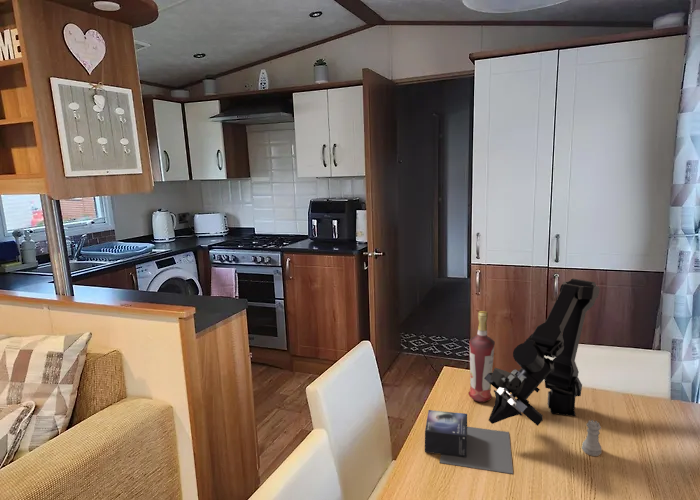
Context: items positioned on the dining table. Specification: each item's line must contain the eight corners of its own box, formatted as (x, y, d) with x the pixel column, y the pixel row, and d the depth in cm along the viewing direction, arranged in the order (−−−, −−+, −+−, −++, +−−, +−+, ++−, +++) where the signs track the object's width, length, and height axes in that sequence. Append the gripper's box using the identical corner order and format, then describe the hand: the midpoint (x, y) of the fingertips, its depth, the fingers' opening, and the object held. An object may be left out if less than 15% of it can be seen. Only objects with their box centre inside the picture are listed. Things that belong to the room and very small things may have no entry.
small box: (467, 434, 112) (424, 430, 114) (467, 458, 113) (424, 453, 115) (467, 411, 122) (427, 408, 124) (467, 434, 123) (427, 430, 125)
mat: (508, 432, 123) (508, 432, 123) (513, 474, 107) (513, 473, 107) (444, 424, 128) (444, 423, 128) (439, 463, 112) (439, 462, 112)
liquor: (490, 407, 136) (493, 317, 131) (465, 402, 139) (468, 314, 134) (494, 395, 143) (497, 310, 137) (470, 390, 146) (472, 307, 140)
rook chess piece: (599, 447, 116) (602, 419, 114) (603, 458, 112) (605, 429, 110) (580, 444, 118) (582, 416, 116) (582, 455, 113) (585, 426, 112)
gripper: (491, 344, 124) (453, 387, 123) (534, 375, 106) (490, 426, 106) (516, 366, 127) (479, 409, 127) (561, 401, 109) (518, 450, 109)
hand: (490, 422), depth 117 cm, fingers closed
